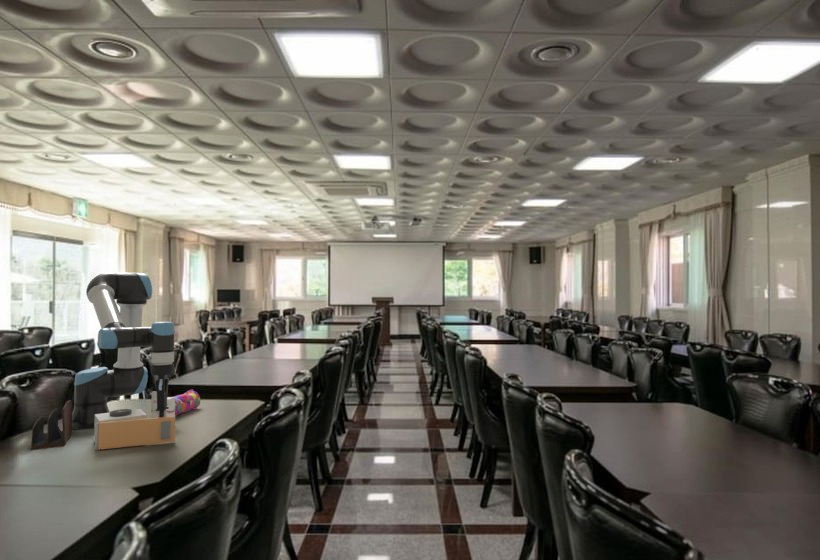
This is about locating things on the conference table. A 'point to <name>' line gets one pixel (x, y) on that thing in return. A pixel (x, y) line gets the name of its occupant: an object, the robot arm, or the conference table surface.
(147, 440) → the side door
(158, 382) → the robot arm
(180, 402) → the pencil case
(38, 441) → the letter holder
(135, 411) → the camera housing
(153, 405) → the ink cartridge box
